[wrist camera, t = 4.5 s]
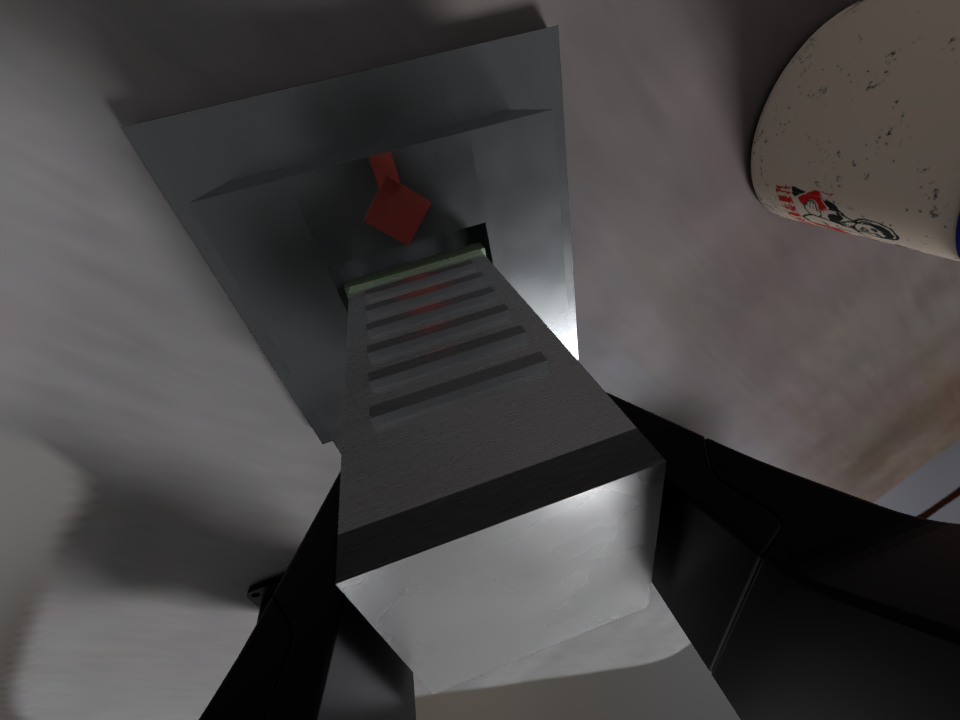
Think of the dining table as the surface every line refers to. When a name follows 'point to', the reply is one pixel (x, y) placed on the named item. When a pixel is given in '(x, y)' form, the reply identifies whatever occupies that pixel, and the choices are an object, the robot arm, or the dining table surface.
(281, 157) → the base
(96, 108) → the dining table surface
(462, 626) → the column
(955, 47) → the teacup with lid
